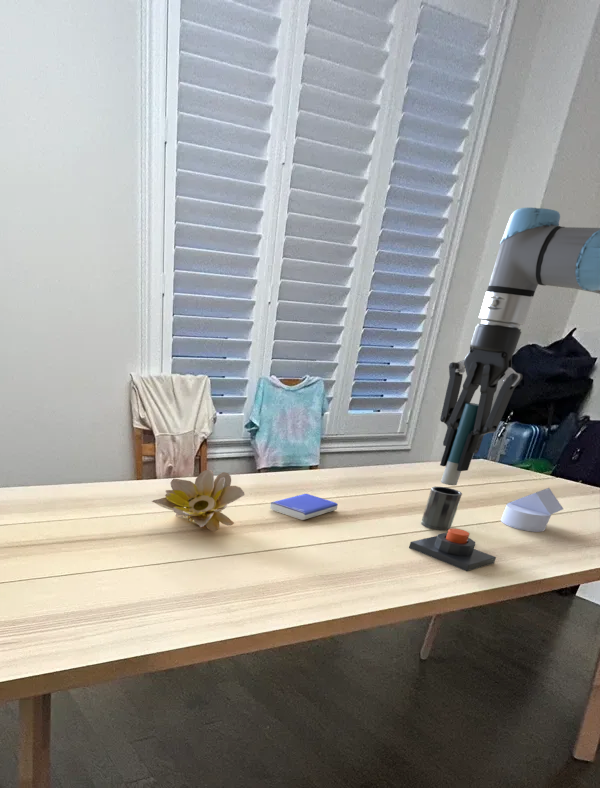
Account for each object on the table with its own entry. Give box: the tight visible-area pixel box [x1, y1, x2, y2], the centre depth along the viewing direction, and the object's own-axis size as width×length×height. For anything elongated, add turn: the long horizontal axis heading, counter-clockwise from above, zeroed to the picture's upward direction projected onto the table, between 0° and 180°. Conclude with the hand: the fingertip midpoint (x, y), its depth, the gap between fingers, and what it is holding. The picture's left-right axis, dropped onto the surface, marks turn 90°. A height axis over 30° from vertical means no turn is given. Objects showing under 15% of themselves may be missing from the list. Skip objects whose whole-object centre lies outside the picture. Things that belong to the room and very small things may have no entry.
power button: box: [446, 528, 470, 544], centre depth 111 cm, size 4×4×2 cm
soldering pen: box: [440, 402, 479, 486], centre depth 119 cm, size 3×3×14 cm
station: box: [408, 532, 497, 572], centre depth 112 cm, size 12×9×3 cm
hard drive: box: [269, 493, 338, 521], centre depth 127 cm, size 2×8×12 cm
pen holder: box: [420, 486, 463, 532], centre depth 126 cm, size 6×6×7 cm
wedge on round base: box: [500, 487, 564, 533], centre depth 135 cm, size 9×7×13 cm
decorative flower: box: [151, 469, 246, 532], centre depth 111 cm, size 15×11×10 cm
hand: (453, 467), depth 121 cm, fingers closed on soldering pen, 3 cm apart
